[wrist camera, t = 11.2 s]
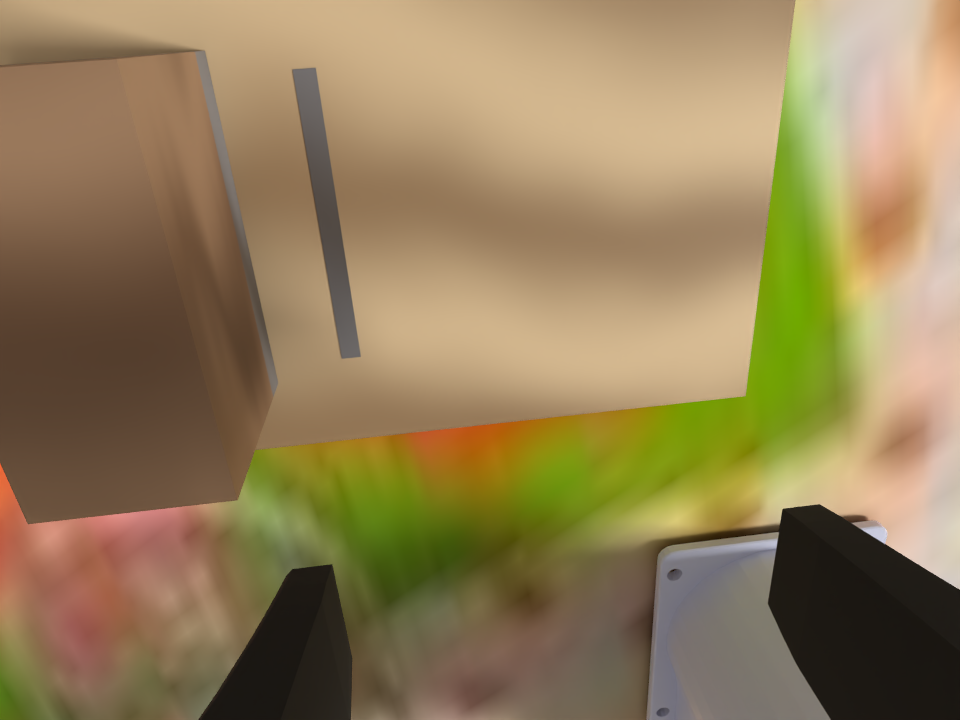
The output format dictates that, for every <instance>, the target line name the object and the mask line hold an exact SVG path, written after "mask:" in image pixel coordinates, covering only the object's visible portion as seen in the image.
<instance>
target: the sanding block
mask: <svg viewBox="0 0 960 720" xmlns="http://www.w3.org/2000/svg"><path fill="white" fill-rule="evenodd" d="M277 385H278V379H277V375H276V370H275V366H274V361H273V357H272V352H271V347H270V343H269V338H268V334H267V329H266V325H265V320H264V316H263V311H262V307H261V302H260V298H259V293H258V289H257V284H256V279H255V275H254V270H253V266H252V261H251V257H250V252H249V248H248V243H247V239H246V234H245V230H244V225H243V221H242V216H241V211H240V207H239V202H238V198H237V193H236V189H235V184H234V180H233V175H232V171H231V166H230V162H229V157H228V153H227V148H226V143H225V139H224V134H223V130H222V125H221V121H220V116H219V112H218V107H217V103H216V98H215V94H214V89H213V85H212V80H211V75H210V71H209V66H208V62H207V57H206V53H205V51H191V52H177V53H163V54H149V55H135V56H121V57H107V58H92V59H78V60H64V61H50V62H36V63H22V64H8V65H0V464H1V466H2V468H3V470H4V472H5V475H6V477H7V479H8V481H9V483H10V486H11V488H12V490H13V492H14V494H15V497H16V499H17V501H18V503H19V505H20V508H21V510H22V512H23V514H24V517H25V519H26V521H27V523H28V524H34V523H42V522H51V521H60V520H69V519H77V518H86V517H95V516H104V515H112V514H121V513H130V512H138V511H147V510H156V509H165V508H173V507H182V506H191V505H200V504H208V503H217V502H226V501H235V500H238V497H239V495H240V492H241V489H242V486H243V483H244V480H245V477H246V474H247V472H248V469H249V466H250V463H251V460H252V457H253V454H254V451H255V449H256V446H257V443H258V440H259V437H260V434H261V431H262V428H263V426H264V423H265V420H266V417H267V414H268V411H269V408H270V405H271V403H272V400H273V397H274V394H275V391H276V388H277Z"/></svg>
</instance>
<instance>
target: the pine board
mask: <svg viewBox="0 0 960 720" xmlns="http://www.w3.org/2000/svg"><path fill="white" fill-rule="evenodd" d="M794 7H795V0H0V65H8V64H22V63H36V62H50V61H64V60H78V59H92V58H107V57H121V56H135V55H149V54H163V53H177V52H191V51H205V53H206V57H207V62H208V66H209V71H210V75H211V80H212V85H213V89H214V94H215V98H216V103H217V107H218V112H219V116H220V121H221V125H222V130H223V134H224V139H225V143H226V148H227V153H228V157H229V162H230V166H231V171H232V175H233V180H234V184H235V189H236V193H237V198H238V202H239V207H240V211H241V216H242V221H243V225H244V230H245V234H246V239H247V243H248V248H249V252H250V257H251V261H252V266H253V270H254V275H255V279H256V284H257V289H258V293H259V298H260V302H261V307H262V311H263V316H264V320H265V325H266V329H267V334H268V338H269V343H270V347H271V352H272V357H273V361H274V366H275V370H276V375H277V379H278V385H277V388H276V391H275V394H274V397H273V400H272V403H271V405H270V408H269V411H268V414H267V417H266V420H265V423H264V426H263V428H262V431H261V434H260V437H259V440H258V443H257V446H256V449H255V450H258V449H268V448H277V447H286V446H295V445H304V444H313V443H322V442H331V441H340V440H350V439H359V438H368V437H377V436H386V435H395V434H404V433H413V432H422V431H431V430H441V429H450V428H459V427H468V426H477V425H486V424H495V423H504V422H513V421H523V420H532V419H541V418H550V417H559V416H568V415H577V414H586V413H595V412H605V411H614V410H623V409H632V408H641V407H650V406H659V405H668V404H677V403H687V402H696V401H705V400H714V399H723V398H732V397H741V396H745V395H746V387H747V379H748V371H749V363H750V355H751V347H752V339H753V332H754V324H755V316H756V308H757V300H758V292H759V284H760V276H761V268H762V260H763V252H764V244H765V236H766V228H767V221H768V213H769V205H770V197H771V189H772V181H773V173H774V165H775V157H776V149H777V141H778V133H779V125H780V117H781V110H782V102H783V94H784V86H785V78H786V70H787V62H788V54H789V46H790V38H791V30H792V22H793V14H794Z"/></svg>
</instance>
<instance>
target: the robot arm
mask: <svg viewBox="0 0 960 720" xmlns="http://www.w3.org/2000/svg"><path fill="white" fill-rule="evenodd" d="M886 538H887V531H886V529H885V528H884V527H883V526H882V525H881V524H880V523H879V522H877V521H863V522H855V523H850V522H849V521H847V520H845V519H844V518H842V517H840V516H839V515H837V514H835V513H834V512H832V511H830V510H828V509H827V508H825V507H823V506H821V505H810V506H802V507H794V508H786V509H783V510H782V516H781V522H780V529H779V532H774V533H766V534H758V535H750V536H742V537H734V538H726V539H718V540H710V541H701V542H693V543H685V544H677V545H671V546H667V547H666V548H664V549H663V550H662V551H661V552H660V553H659V555H658V558H657V573H656V587H655V602H654V616H653V631H652V646H651V660H650V675H649V689H648V704H647V718H646V720H960V590H959V589H957V588H956V587H954V586H952V585H951V584H949V583H947V582H946V581H944V580H943V579H941V578H939V577H938V576H936V575H934V574H933V573H931V572H929V571H928V570H926V569H924V568H923V567H921V566H920V565H918V564H916V563H915V562H913V561H911V560H910V559H908V558H907V557H905V556H903V555H902V554H900V553H899V552H897V551H895V550H894V549H892V548H891V547H889V546H887V545H886V544H885V542H886ZM673 569H676V570H675V571H673V572H670V571H671V570H673ZM351 691H352V655H351V650H350V646H349V641H348V636H347V632H346V627H345V622H344V618H343V613H342V608H341V604H340V599H339V594H338V590H337V585H336V580H335V576H334V571H333V566H332V564H331V565H323V566H315V567H307V568H299V569H292V570H291V571H290V573H289V574H288V575H287V576H286V578H285V579H284V581H283V583H282V585H281V587H280V589H279V591H278V592H277V594H276V596H275V598H274V600H273V601H272V603H271V605H270V607H269V609H268V610H267V612H266V614H265V616H264V617H263V619H262V621H261V622H260V624H259V626H258V628H257V629H256V631H255V633H254V634H253V636H252V638H251V639H250V641H249V643H248V644H247V646H246V648H245V649H244V651H243V652H242V654H241V656H240V657H239V659H238V660H237V662H236V664H235V665H234V667H233V668H232V670H231V671H230V673H229V675H228V676H227V678H226V679H225V681H224V682H223V684H222V686H221V687H220V689H219V690H218V692H217V693H216V695H215V696H214V698H213V699H212V701H211V702H210V704H209V705H208V707H207V708H206V710H205V711H204V712H203V714H202V715H201V717H200V718H199V720H351Z"/></svg>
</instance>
